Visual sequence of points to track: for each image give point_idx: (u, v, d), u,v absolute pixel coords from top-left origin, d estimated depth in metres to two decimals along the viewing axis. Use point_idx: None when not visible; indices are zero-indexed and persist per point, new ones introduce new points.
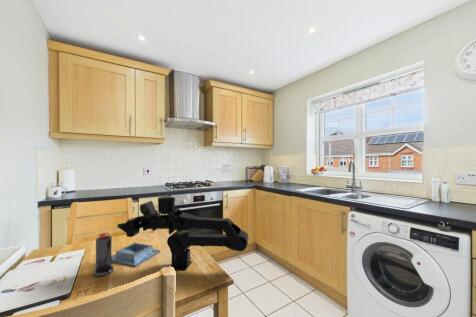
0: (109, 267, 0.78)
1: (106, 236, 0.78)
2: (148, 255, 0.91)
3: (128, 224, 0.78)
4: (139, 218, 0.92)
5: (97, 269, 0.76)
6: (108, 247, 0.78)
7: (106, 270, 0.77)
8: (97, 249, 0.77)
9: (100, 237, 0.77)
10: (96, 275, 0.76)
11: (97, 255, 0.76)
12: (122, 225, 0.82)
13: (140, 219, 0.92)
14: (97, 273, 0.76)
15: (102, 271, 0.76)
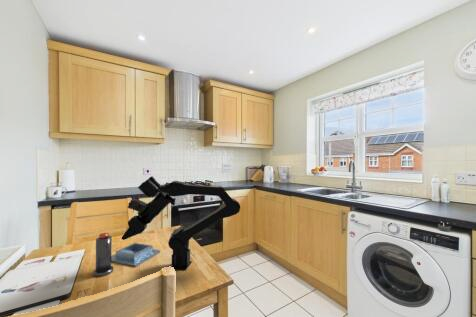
0: (109, 267, 0.78)
1: (106, 236, 0.78)
2: (148, 255, 0.91)
3: (132, 222, 0.72)
4: None
5: (97, 269, 0.76)
6: (108, 247, 0.78)
7: (106, 270, 0.77)
8: (97, 249, 0.77)
9: (100, 237, 0.77)
10: (96, 275, 0.76)
11: (97, 255, 0.76)
12: (126, 233, 0.75)
13: None
14: (97, 273, 0.76)
15: (102, 271, 0.76)
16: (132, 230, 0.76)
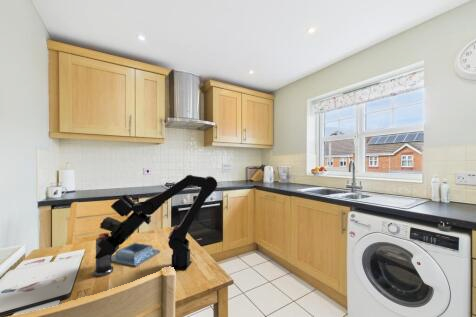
0: (109, 267, 0.78)
1: (106, 236, 0.78)
2: (148, 255, 0.91)
3: (101, 245, 0.70)
4: None
5: (97, 269, 0.76)
6: None
7: (106, 270, 0.77)
8: (97, 249, 0.77)
9: (100, 237, 0.77)
10: (96, 275, 0.76)
11: None
12: (100, 252, 0.75)
13: None
14: (97, 273, 0.76)
15: (102, 271, 0.76)
16: None
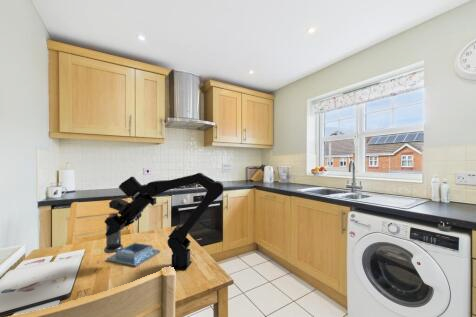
0: (118, 245, 0.83)
1: None
2: (148, 255, 0.91)
3: (108, 222, 0.74)
4: None
5: (107, 246, 0.81)
6: None
7: (115, 247, 0.82)
8: (107, 227, 0.81)
9: (109, 216, 0.82)
10: (106, 251, 0.80)
11: None
12: (109, 230, 0.80)
13: None
14: (107, 249, 0.81)
15: (111, 248, 0.81)
16: None
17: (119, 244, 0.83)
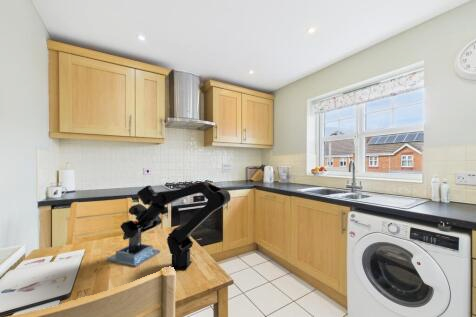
0: (137, 251, 0.91)
1: (135, 223, 0.91)
2: (148, 255, 0.91)
3: (122, 226, 0.82)
4: None
5: None
6: None
7: (134, 253, 0.90)
8: None
9: None
10: None
11: (129, 238, 0.90)
12: (125, 234, 0.87)
13: None
14: None
15: None
16: None
17: (138, 250, 0.91)
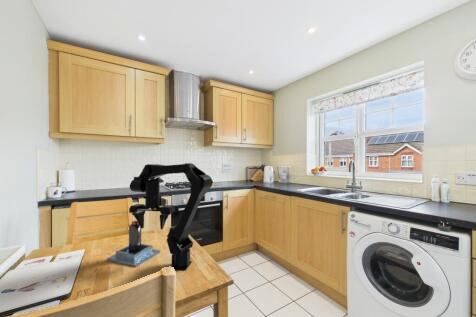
0: (137, 251, 0.91)
1: (135, 223, 0.91)
2: (148, 255, 0.91)
3: None
4: None
5: None
6: (136, 233, 0.90)
7: (134, 253, 0.90)
8: (129, 233, 0.91)
9: None
10: None
11: (129, 238, 0.90)
12: None
13: None
14: None
15: None
16: None
17: (138, 250, 0.91)
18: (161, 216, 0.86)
